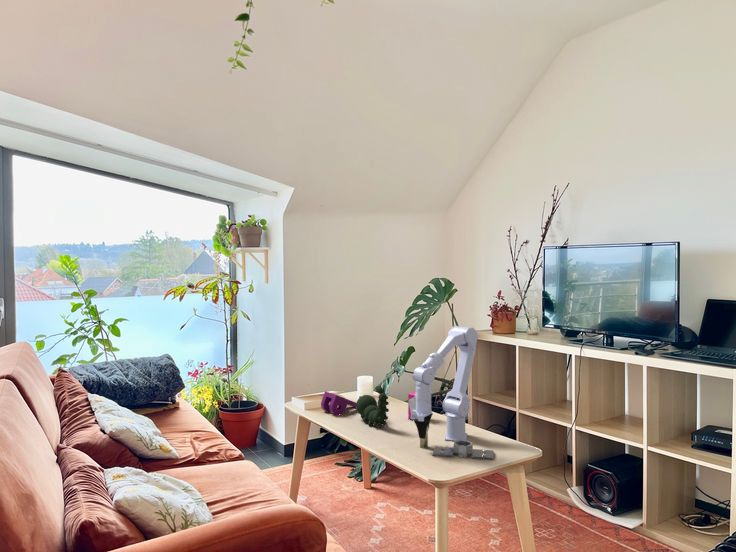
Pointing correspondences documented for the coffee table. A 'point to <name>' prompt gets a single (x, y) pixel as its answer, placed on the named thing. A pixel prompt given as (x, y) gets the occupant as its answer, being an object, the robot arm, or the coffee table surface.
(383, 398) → the toy figurine
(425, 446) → the hinge pin
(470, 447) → the hinge
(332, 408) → the mounting bracket
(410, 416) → the supplement box
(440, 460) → the coffee table surface
